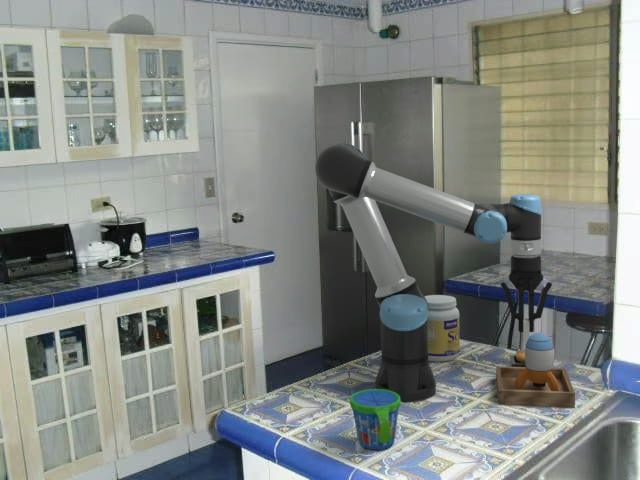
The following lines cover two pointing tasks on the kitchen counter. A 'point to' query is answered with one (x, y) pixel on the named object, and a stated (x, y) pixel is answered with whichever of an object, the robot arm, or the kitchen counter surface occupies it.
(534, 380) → the toy rocket
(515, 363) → the button housing
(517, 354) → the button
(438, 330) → the supplement tub
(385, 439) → the snack cup
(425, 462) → the kitchen counter surface
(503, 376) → the open wooden tray
